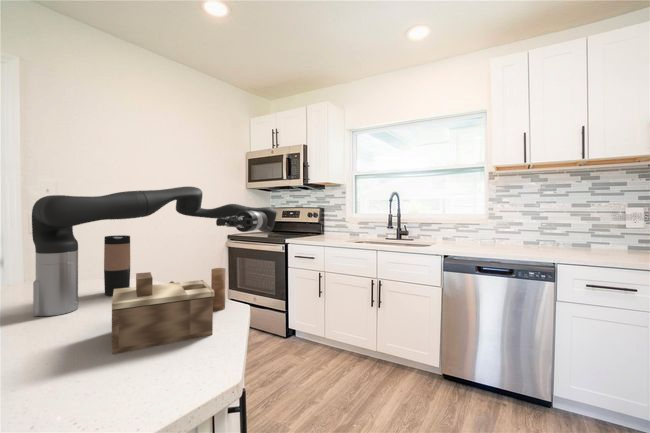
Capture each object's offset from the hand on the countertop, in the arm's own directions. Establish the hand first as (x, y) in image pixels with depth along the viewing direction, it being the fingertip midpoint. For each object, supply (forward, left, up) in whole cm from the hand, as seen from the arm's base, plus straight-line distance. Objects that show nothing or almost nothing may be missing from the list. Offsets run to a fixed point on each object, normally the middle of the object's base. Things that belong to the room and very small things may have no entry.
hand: (224, 222), depth 96 cm
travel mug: (-28, +32, -26) cm, 50 cm away
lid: (-18, -14, -17) cm, 28 cm away
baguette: (-2, -2, -26) cm, 26 cm away
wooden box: (-18, -14, -26) cm, 35 cm away
